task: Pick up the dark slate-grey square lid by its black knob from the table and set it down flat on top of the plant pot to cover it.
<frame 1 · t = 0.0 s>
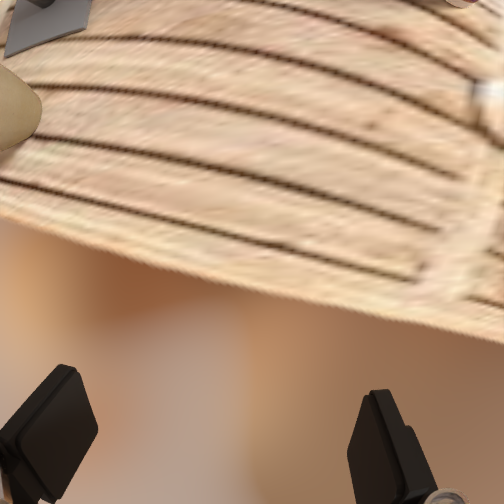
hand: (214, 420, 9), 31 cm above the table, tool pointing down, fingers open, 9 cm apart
plant pot: (26, 114, 37), on the table
lid: (53, 0, 31), on the table
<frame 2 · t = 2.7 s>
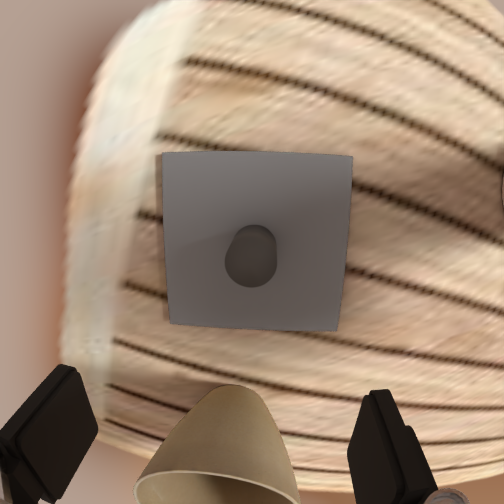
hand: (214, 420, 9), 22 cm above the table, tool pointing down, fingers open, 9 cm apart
plant pot: (234, 404, 36), on the table
lid: (255, 242, 31), on the table
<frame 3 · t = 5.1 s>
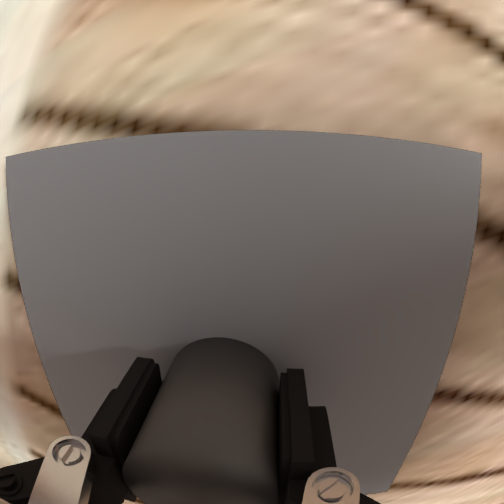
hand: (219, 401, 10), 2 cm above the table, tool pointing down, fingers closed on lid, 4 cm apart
lid: (228, 360, 13), on the table, touching gripper
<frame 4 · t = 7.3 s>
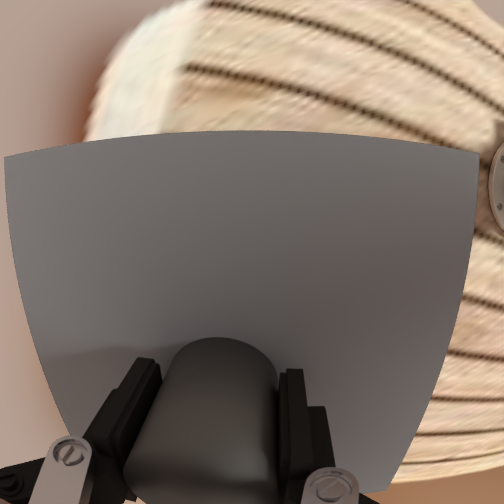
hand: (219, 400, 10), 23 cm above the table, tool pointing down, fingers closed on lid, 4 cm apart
lid: (227, 360, 13), point 21 cm above the table, touching gripper
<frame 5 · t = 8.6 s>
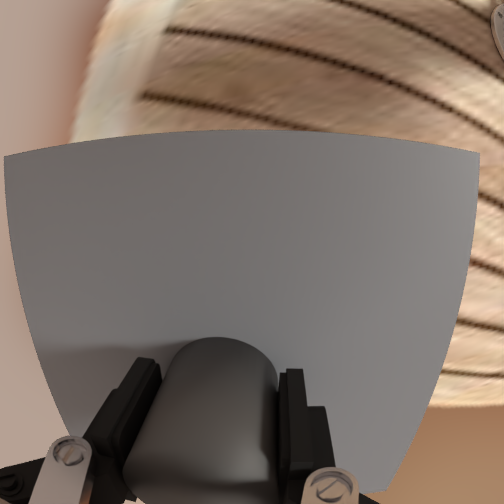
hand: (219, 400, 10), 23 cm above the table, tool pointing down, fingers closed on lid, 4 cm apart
lid: (227, 360, 13), point 21 cm above the table, touching gripper
when the fingers open (19 cm above the table, at t = 9.5 s): lid drops 1 cm, resting on plant pot.
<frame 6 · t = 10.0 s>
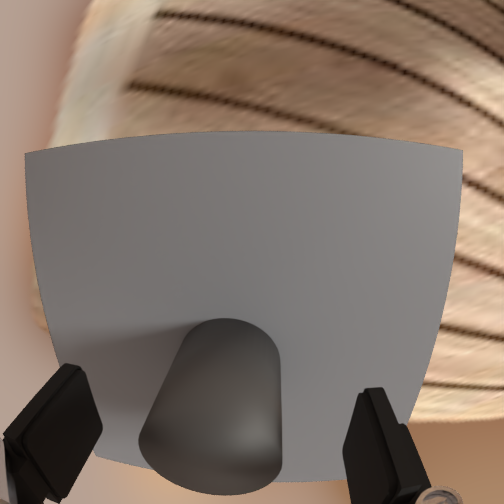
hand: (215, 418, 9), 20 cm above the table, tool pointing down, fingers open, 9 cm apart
lid: (233, 343, 14), point 16 cm above the table, touching plant pot
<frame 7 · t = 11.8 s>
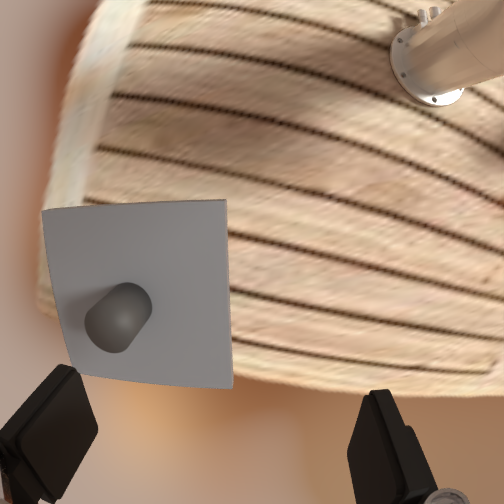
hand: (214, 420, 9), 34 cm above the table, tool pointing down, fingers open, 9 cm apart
lid: (136, 297, 28), point 16 cm above the table, touching plant pot
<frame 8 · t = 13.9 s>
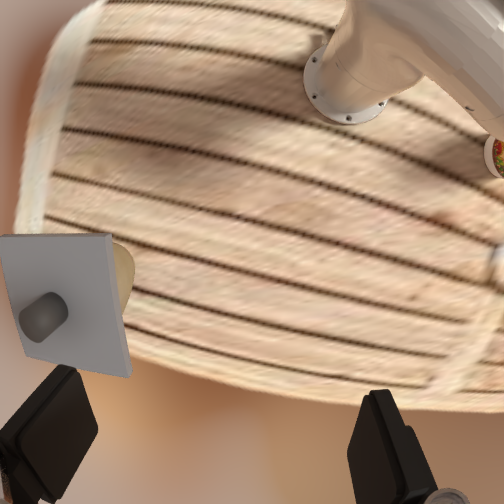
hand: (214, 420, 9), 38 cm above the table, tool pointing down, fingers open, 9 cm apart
milk bottle: (497, 155, 41), on the table
plant pot: (115, 263, 50), on the table, touching lid
lid: (61, 302, 34), point 16 cm above the table, touching plant pot
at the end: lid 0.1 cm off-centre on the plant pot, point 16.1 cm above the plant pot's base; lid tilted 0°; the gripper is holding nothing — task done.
